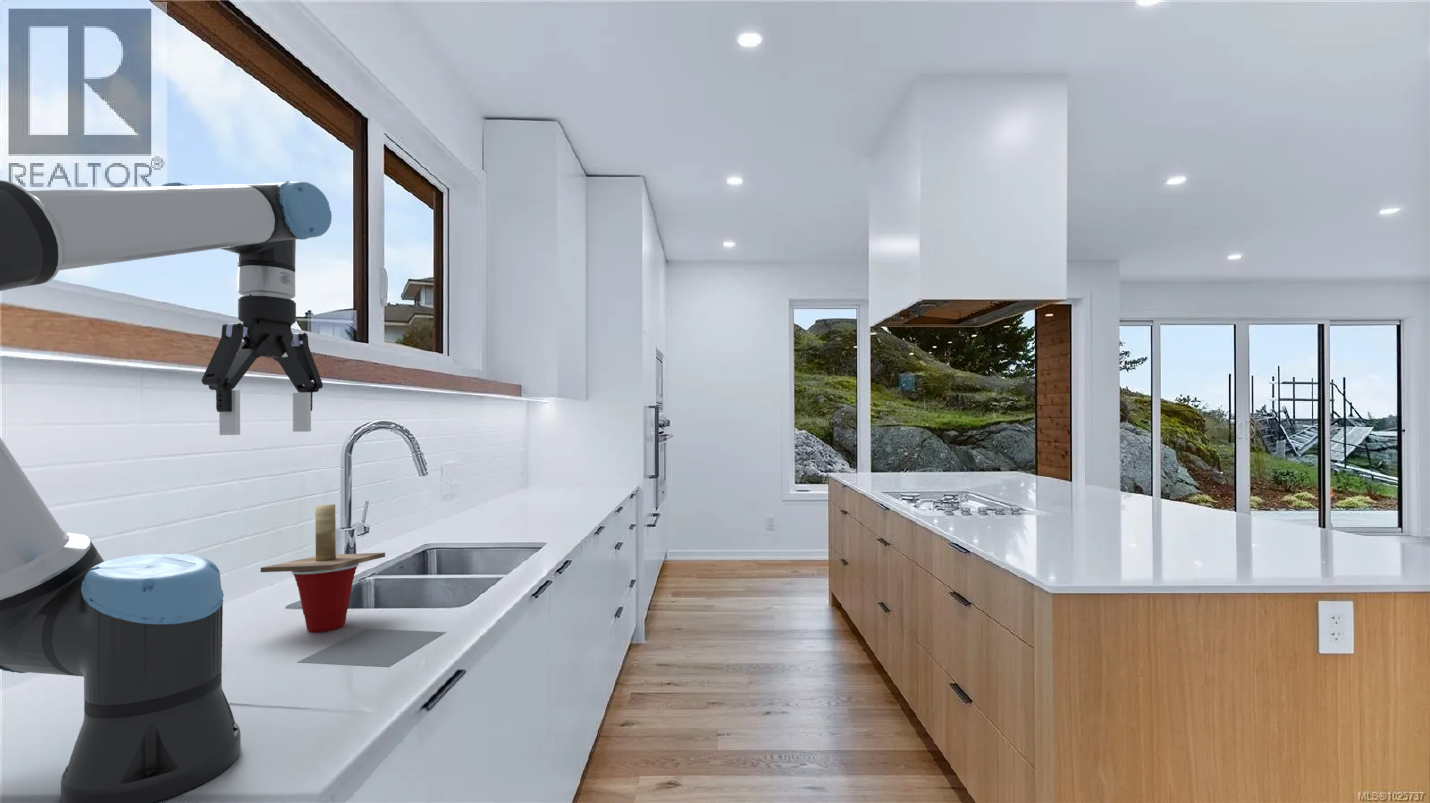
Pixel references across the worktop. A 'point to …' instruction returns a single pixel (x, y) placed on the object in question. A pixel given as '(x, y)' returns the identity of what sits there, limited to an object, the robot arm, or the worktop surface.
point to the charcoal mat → (373, 648)
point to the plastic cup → (325, 597)
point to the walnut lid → (324, 548)
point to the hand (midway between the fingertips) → (268, 433)
